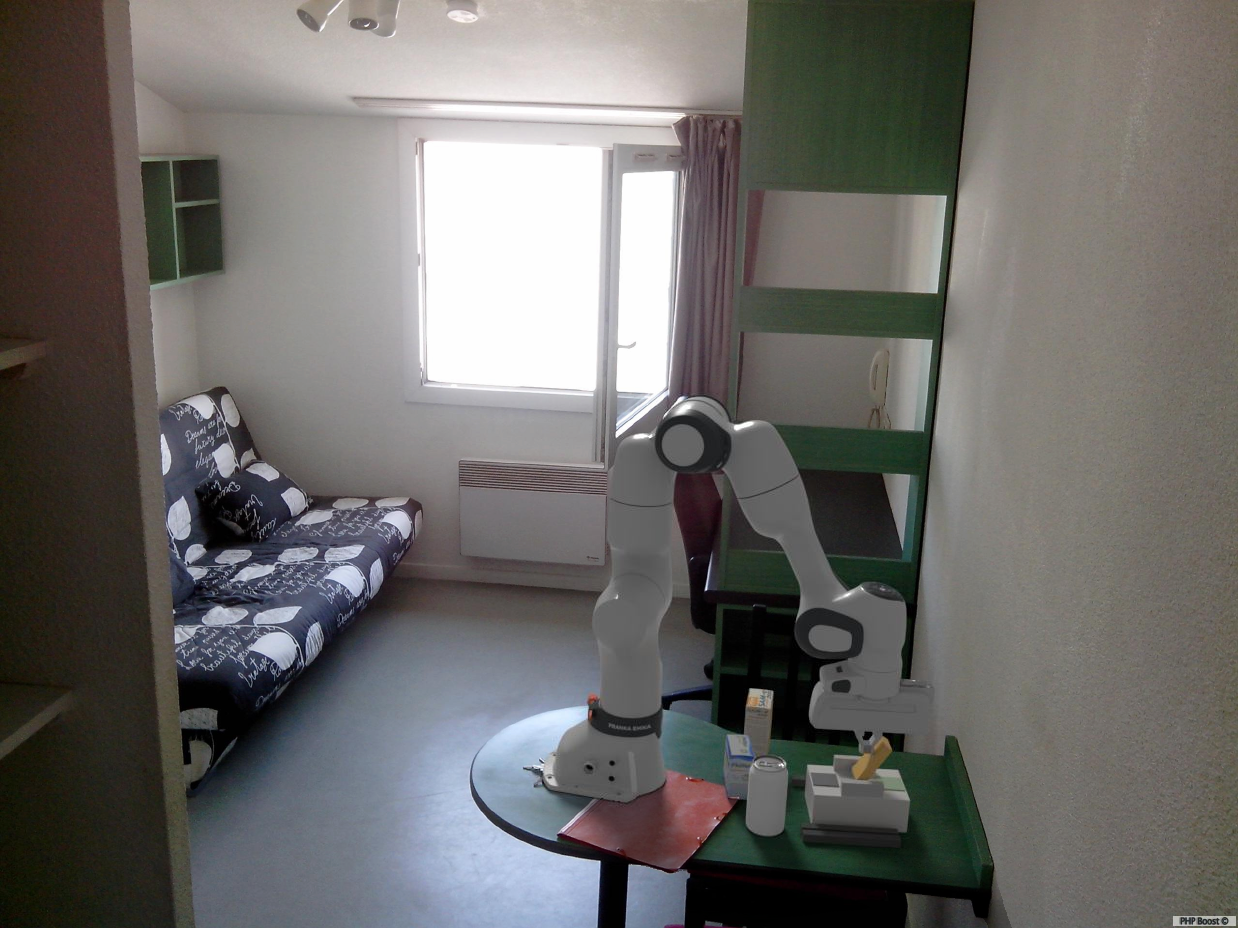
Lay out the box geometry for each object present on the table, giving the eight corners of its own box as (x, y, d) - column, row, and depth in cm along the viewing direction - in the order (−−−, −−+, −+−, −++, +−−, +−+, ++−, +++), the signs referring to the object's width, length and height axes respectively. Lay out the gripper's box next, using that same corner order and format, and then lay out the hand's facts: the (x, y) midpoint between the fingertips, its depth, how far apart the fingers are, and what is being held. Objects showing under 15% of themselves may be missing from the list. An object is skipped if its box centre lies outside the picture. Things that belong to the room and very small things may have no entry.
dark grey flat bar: (802, 841, 174) (803, 834, 174) (800, 829, 177) (801, 822, 177) (900, 847, 173) (901, 840, 173) (896, 835, 177) (897, 828, 176)
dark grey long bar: (791, 785, 191) (792, 778, 191) (791, 781, 192) (791, 774, 192) (880, 791, 190) (881, 784, 190) (879, 787, 192) (879, 780, 191)
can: (783, 840, 174) (789, 774, 172) (744, 835, 175) (749, 770, 173) (784, 818, 181) (789, 755, 178) (746, 814, 182) (750, 750, 179)
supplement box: (766, 773, 195) (771, 709, 192) (740, 770, 196) (745, 705, 193) (769, 752, 203) (774, 689, 200) (744, 749, 204) (749, 686, 201)
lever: (853, 786, 179) (885, 748, 177) (848, 769, 184) (879, 732, 182) (861, 791, 179) (893, 753, 177) (856, 774, 184) (886, 736, 182)
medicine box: (722, 776, 194) (725, 733, 192) (746, 776, 194) (749, 734, 192) (727, 799, 186) (730, 755, 184) (752, 800, 186) (755, 755, 184)
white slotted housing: (811, 826, 179) (815, 781, 177) (804, 794, 188) (808, 752, 186) (906, 832, 178) (911, 787, 176) (894, 800, 188) (899, 757, 186)
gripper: (931, 673, 180) (923, 746, 183) (811, 666, 180) (805, 739, 184) (940, 689, 173) (931, 765, 177) (815, 682, 174) (809, 757, 178)
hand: (866, 752), depth 180 cm, fingers closed
